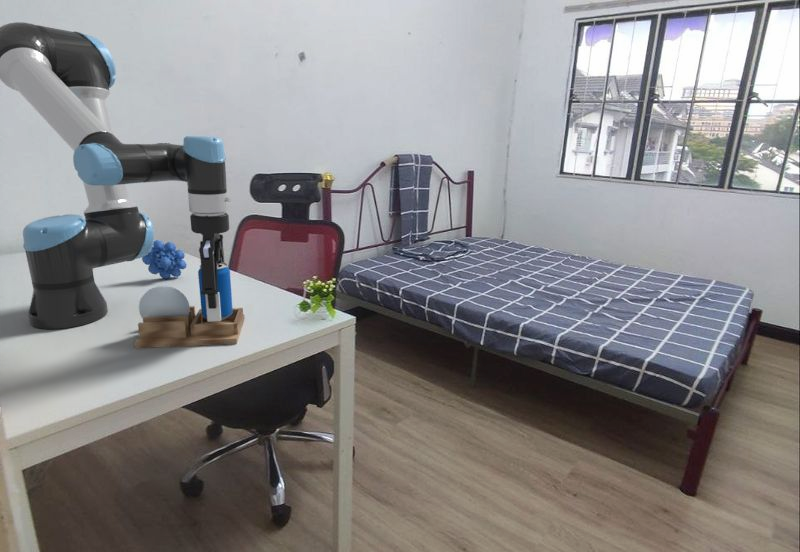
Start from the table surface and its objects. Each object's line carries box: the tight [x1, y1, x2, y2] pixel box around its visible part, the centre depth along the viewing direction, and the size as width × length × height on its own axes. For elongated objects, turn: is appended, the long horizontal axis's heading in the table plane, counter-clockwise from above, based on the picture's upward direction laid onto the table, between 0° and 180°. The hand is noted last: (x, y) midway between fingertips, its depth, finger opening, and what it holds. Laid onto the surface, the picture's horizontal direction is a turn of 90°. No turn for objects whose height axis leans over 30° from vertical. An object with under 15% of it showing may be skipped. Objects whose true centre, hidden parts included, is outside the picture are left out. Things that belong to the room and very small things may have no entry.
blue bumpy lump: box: [141, 239, 188, 280], centre depth 137 cm, size 12×7×12 cm, turn 120°
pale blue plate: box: [138, 285, 191, 319], centre depth 101 cm, size 10×1×10 cm, turn 101°
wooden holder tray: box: [134, 305, 246, 349], centre depth 104 cm, size 20×14×5 cm
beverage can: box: [197, 261, 233, 320], centre depth 103 cm, size 6×6×12 cm
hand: (217, 314), depth 104 cm, fingers closed on beverage can, 6 cm apart
